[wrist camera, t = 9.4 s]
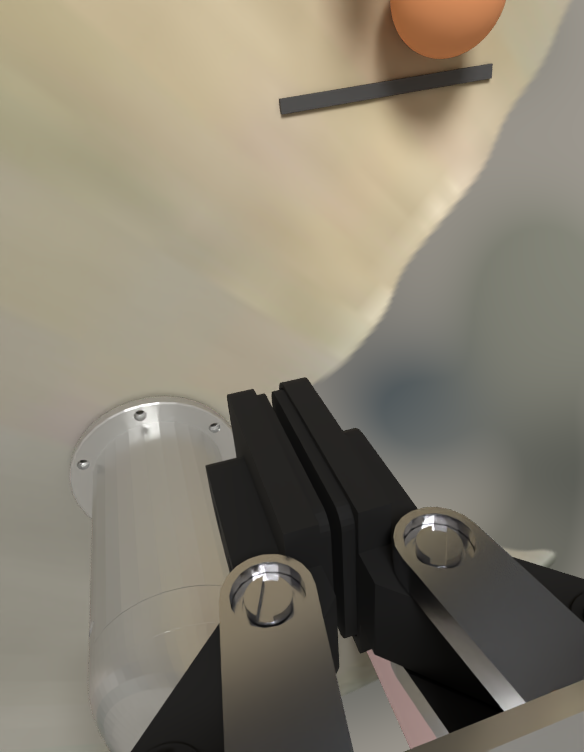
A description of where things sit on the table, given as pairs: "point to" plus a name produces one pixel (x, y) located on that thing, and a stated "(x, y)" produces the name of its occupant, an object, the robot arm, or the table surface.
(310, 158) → the table surface
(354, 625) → the robot arm
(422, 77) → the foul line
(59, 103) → the table surface
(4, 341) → the table surface
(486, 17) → the ball
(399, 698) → the greeting card
